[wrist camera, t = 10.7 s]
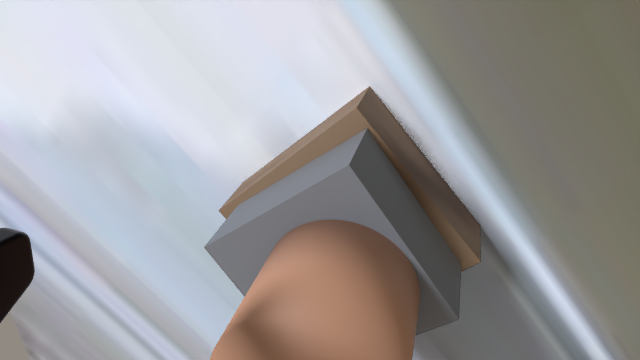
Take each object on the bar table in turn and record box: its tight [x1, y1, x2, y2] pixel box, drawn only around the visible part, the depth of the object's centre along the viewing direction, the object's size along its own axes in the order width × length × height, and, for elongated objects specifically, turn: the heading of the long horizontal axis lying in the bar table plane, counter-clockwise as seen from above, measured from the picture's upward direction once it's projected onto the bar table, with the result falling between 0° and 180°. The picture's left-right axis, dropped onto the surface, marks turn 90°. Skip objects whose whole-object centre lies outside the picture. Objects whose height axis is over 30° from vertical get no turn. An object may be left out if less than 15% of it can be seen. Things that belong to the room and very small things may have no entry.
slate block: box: [204, 128, 461, 335], centre depth 19 cm, size 6×6×3 cm
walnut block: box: [219, 86, 481, 272], centre depth 21 cm, size 7×7×3 cm
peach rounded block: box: [210, 219, 420, 360], centre depth 15 cm, size 5×5×4 cm
